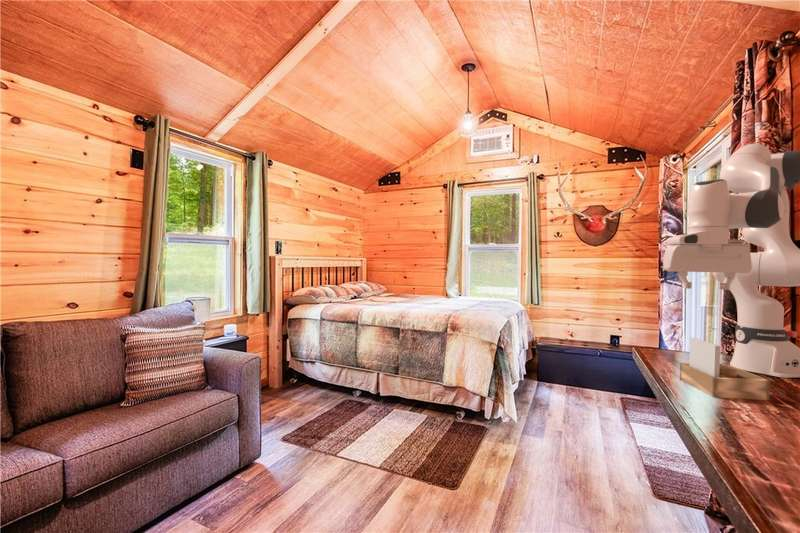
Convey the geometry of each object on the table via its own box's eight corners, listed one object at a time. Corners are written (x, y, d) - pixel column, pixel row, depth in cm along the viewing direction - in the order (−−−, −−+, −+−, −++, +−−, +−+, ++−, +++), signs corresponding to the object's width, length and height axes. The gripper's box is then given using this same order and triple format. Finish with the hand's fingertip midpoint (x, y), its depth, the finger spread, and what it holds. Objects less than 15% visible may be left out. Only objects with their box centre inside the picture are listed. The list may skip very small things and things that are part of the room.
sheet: (693, 382, 107) (694, 337, 107) (718, 395, 98) (720, 345, 97) (688, 382, 108) (690, 337, 107) (713, 394, 98) (715, 345, 97)
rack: (727, 384, 108) (728, 364, 108) (769, 403, 94) (770, 380, 94) (679, 382, 110) (680, 362, 110) (713, 401, 96) (714, 378, 96)
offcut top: (717, 370, 105) (717, 362, 105) (736, 378, 98) (737, 369, 98) (703, 370, 106) (703, 361, 106) (722, 378, 99) (722, 369, 99)
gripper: (740, 240, 103) (739, 289, 103) (660, 238, 106) (659, 287, 106) (759, 238, 97) (757, 291, 97) (673, 237, 100) (672, 288, 100)
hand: (705, 289), depth 102 cm, fingers open, 8 cm apart
